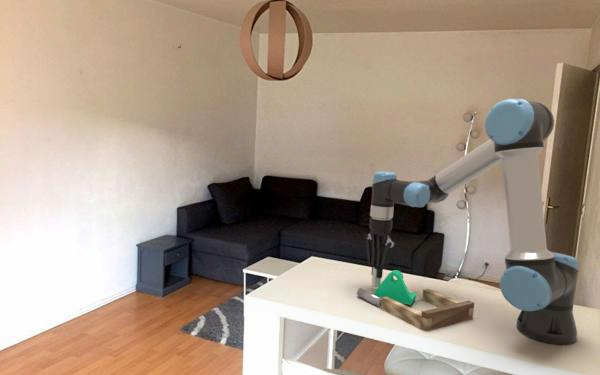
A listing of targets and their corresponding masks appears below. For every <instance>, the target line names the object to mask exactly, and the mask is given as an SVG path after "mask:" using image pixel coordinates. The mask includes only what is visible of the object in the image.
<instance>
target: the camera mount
mask: <svg viewBox="0 0 600 375" xmlns="http://www.w3.org/2000/svg"><path fill="white" fill-rule="evenodd" d="M394 277H395V278H396V279H395V278H394ZM373 294H375V295H377V296H379V297H381V298H382V297H389V298H391V299H393V300H395V301H397V302H399V303H402V304H404V305H407V306H408V305H410V306H411V305H412V304H413V303H414V302H415V301H416V299H417V293H416V292H413V291H409V289H408V287H407V285H406V284H405V281H404V275H403V273H402V272H401V270H398V269H394V270H392V271H390V272H389V273H388V274H387V276H385V278H384V279H383V281H381V284H380V285H379V287H376V289H375V290H374V292H373Z"/></svg>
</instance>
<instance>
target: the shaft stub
mask: <svg viewBox="0 0 600 375" xmlns="http://www.w3.org/2000/svg"><path fill="white" fill-rule="evenodd" d="M356 295H357V297H358V298H360V299H362V300H364V301H366V302H368V303H370V304H372V305H374V306H375V307H378V308H381V302H382V298H381V297H379V296H377V295H375V294H374V292H371V291H370V290H366V289H365V288H363V287H360V288H358V290H357V291H356Z"/></svg>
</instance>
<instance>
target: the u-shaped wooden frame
mask: <svg viewBox="0 0 600 375" xmlns="http://www.w3.org/2000/svg"><path fill="white" fill-rule="evenodd" d="M421 300H422V301H424V302H427V303H428V304H431V305H433V306H435V308H429V309H426V310H421V311H419V310H416V309H414V308H412V307H410V306H408V305H407V304H404V303H399V302H397V301H395V300H393V299H391V298H389V297H382V302H381V307H380V309H382V310H383V311H385V312H386V313H388V314H391V315H393V316H395V317H396V318H399V319H400V320H403V321H404V322H407V323H409V324H410V325H413V326H415V327H417V328H418V329H420V330H422V331H425V332H428V331H432V330H436V329H439V328H444V327H447V326H450V325H451V326H452V325H455V324H458V323H462V322H467V321H470V320H473V319H474V318H473V316H474V312H475V310H474V309H475V302H474V301H471V300H465V301H458V300H457V299H455V298H452V297H449V296H447V295H445V294H441V293H440V292H437V291H434V290H432V289H430V288H424V289H422V298H421Z"/></svg>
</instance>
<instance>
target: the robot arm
mask: <svg viewBox="0 0 600 375" xmlns="http://www.w3.org/2000/svg"><path fill="white" fill-rule="evenodd" d="M554 127H555V119H554V115H553V113H552V111H551V110H550V109H549V107H547V106H546V105H544V104H543V103H541V102H537V101H536V102H535V101H531V100H525V99H523V98H506V99H504V100H503V99H502V100H500V101H499V102H497V103H496V104H494V105H493V106H492V107H491V109H490V110H489V111H488V112H487V115H486V117H485V122H484V129H485V132H486V135H487V137H488V138H489V139H488V140H486V141H485V142H483V143H482V144H480V145H479V146H477V147H476V148H474V149H473V150H471V151H470V152H468V153H467V154H465V155H463V156H462V157H461V158H458V160H456V161H454V162H453V163H452V164H450V165H449V166H447V167H445V168H444V169H442V170H441V171H440V172H438V173H437V174H436V175H434V176H432V177H430V178H429V179H427V180H416V181H410V180H409V181H408V180H401V179H397V173H396V172H393V171H382V170H381V171H375V172H374V174H373V178H372V183H371V187H372V188H371V202H370V212H369V216H370V217H369V225H368V227H369V229H370V231H369V233H368V234H364V239H365V245H366V256H367V264H369V265H370V266H371V272H370V273H371V276H372V277H371V287H373V288H378V287H379V285H380V284H381V283H382V278H383V271H384V269H386V268H387V269H388V268H389V264H390V261H391V256H392V254H393V250H394V248H395V246H396V242H395V241H392V239H391V231H392V230H393V223H394V222H393V218H394V210H395V209H394V207H395V204H399V205H404V206H409V207H411V208H415V207H416V208H424V207H425V206H426V205H427V204H437V203H440V202H443V201H445V200H446V199H448V197H449V195H450V194H451V193H453V192H454V191H456V190H458V189H459V188H461V187H463V186H464V185H466V184H468V183H469V182H471V181H473V180H475V179H476V178H477V177H479V176H481V175H482V174H484V173H485V172H487V171H489V170H491V169H492V168H494V167H495V166H497V165H499V164H500V163H502V166H501V167H502V172H503V173H502V174H503V176H502V177H503V184H504V185H503V186H504V196H505V197H504V198H505V206H506V217H507V219H506V220H507V228H508V237H509V251H508V252H507V253H506V254H505V256H504V263H505V270H504V271H503V273H502V274H501V277H500V279H499V289H500V291H501V293H502V296H503V298H504V299H505V301H507V302H508V303H509V304H510V305H511V306H512V307H514V308H516V309H518V310H520V312H519V315H518V316H517V319H516V324H515V325H516V326H515V327H516V329H517V330H518V332H520V333H521V334H523V335H524V336H526V337H529V338H531V339H533V340H537V341H539V342H544V343H547V344H554V345H571V344H574V343H576V341H577V339H578V338H577V337H578V330H577V325H576V321H575V316H574V312H573V310H574V304H575V296H576V288H577V282H578V275H579V273H580V269H579V265H580V263H579V262H580V261H579V260H578V259H577V258H576V257H574V256H571V255H568V254H565V253H559V252H555V251H550V250H549V249H548V248H547V237H546V235H547V234H546V228H545V217H544V216H545V215H544V206H543V197H542V196H543V194H542V185H541V174H540V165H539V155H540V154H541V152H542V151H544V147H545V146H544V141H546V140H547V139H548V138H549V137H550V135H551V134H552V133H553V130H554Z"/></svg>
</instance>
